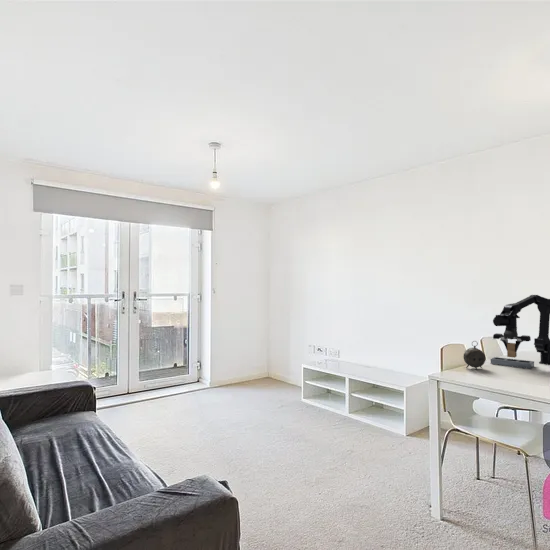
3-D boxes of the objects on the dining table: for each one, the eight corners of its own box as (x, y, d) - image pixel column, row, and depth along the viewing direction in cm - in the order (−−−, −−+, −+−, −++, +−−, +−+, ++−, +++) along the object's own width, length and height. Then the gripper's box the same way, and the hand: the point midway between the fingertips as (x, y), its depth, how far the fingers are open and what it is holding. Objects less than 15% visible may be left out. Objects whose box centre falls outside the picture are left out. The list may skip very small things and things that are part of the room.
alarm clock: (482, 368, 226) (482, 340, 227) (487, 370, 221) (486, 341, 221) (463, 367, 228) (462, 340, 228) (467, 369, 222) (466, 341, 223)
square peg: (509, 355, 237) (508, 342, 237) (516, 356, 234) (516, 343, 234) (507, 356, 234) (507, 343, 234) (514, 357, 231) (514, 344, 232)
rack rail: (490, 363, 238) (490, 359, 238) (494, 361, 245) (494, 356, 245) (530, 368, 224) (530, 363, 224) (534, 366, 230) (534, 361, 230)
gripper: (490, 325, 235) (490, 351, 235) (526, 327, 222) (526, 355, 222) (495, 324, 243) (496, 349, 243) (530, 326, 230) (531, 352, 230)
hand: (511, 351), depth 234 cm, fingers closed on square peg, 4 cm apart
